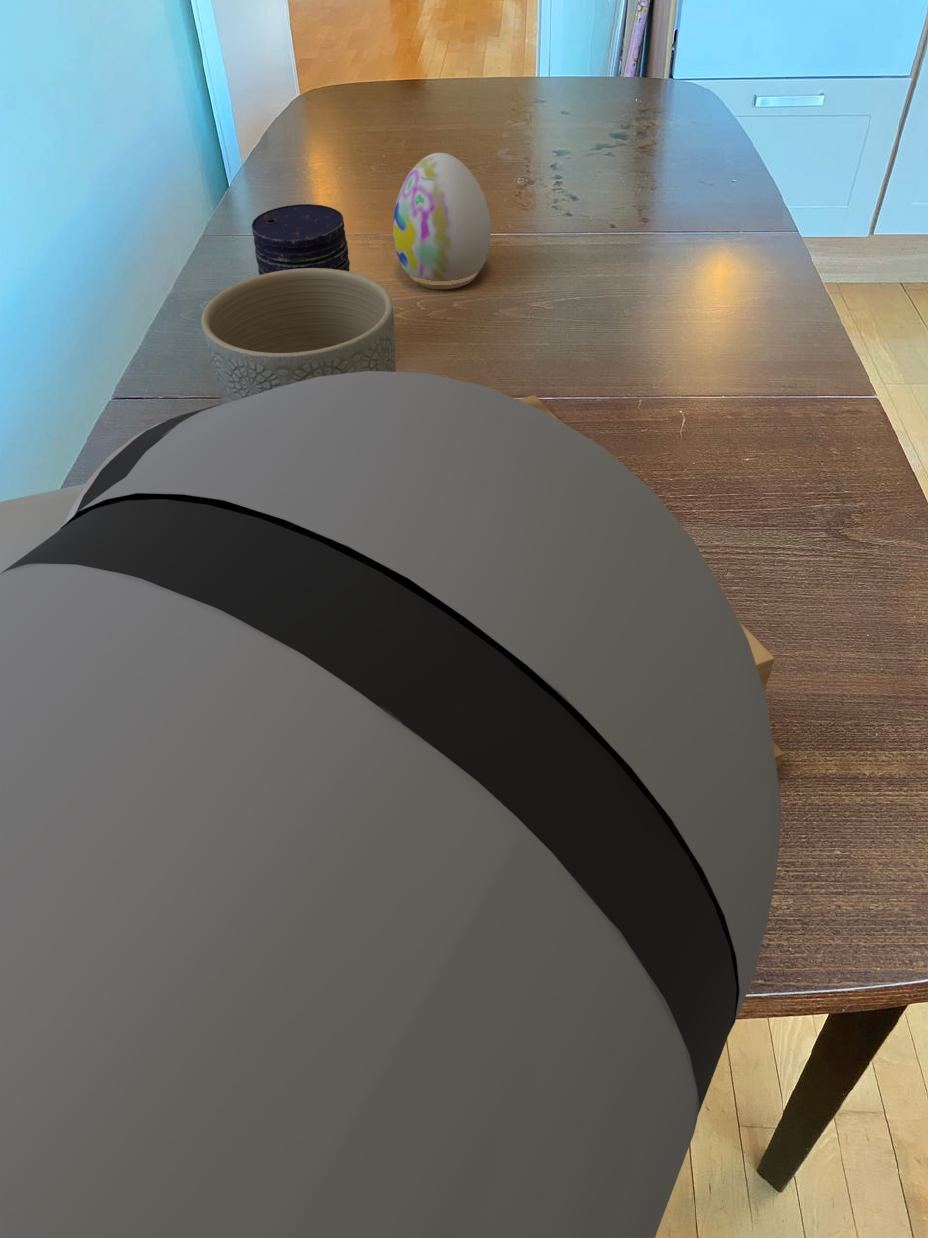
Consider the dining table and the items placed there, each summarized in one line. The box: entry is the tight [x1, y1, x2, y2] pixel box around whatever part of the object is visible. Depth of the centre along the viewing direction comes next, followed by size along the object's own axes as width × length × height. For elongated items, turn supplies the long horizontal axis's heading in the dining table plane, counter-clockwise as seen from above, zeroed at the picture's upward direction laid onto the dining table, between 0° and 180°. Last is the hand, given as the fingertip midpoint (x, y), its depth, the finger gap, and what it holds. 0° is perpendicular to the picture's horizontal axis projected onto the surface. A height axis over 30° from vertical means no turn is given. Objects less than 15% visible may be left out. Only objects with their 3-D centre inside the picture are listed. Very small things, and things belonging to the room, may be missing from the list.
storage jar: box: [251, 203, 351, 275], centre depth 104 cm, size 10×10×15 cm
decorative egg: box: [392, 152, 492, 290], centre depth 118 cm, size 12×12×15 cm
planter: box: [201, 268, 397, 404], centre depth 89 cm, size 17×17×15 cm
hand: (375, 718), depth 50 cm, fingers closed
